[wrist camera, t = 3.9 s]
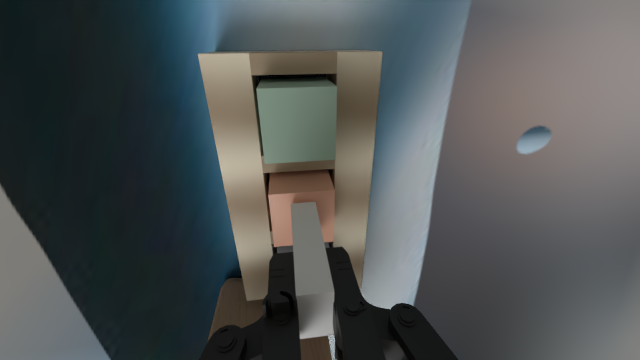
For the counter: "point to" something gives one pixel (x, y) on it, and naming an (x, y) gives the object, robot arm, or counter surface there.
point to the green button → (297, 119)
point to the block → (244, 313)
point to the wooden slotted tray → (252, 173)
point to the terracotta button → (300, 201)
